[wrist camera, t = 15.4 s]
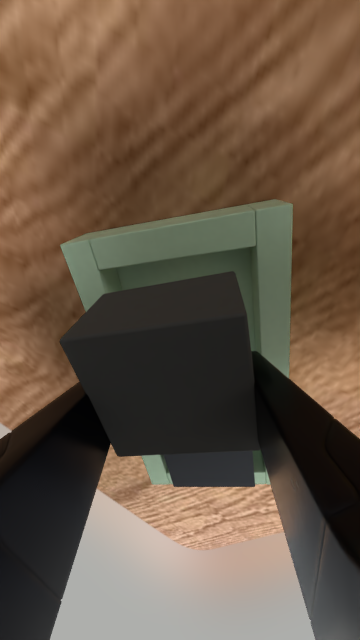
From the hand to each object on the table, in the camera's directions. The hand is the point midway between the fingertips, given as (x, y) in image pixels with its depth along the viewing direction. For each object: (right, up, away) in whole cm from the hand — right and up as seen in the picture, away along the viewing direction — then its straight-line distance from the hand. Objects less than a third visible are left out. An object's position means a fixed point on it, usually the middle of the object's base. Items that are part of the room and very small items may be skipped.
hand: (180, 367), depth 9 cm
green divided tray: (+1, -1, +6) cm, 6 cm away
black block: (0, +1, +1) cm, 1 cm away
